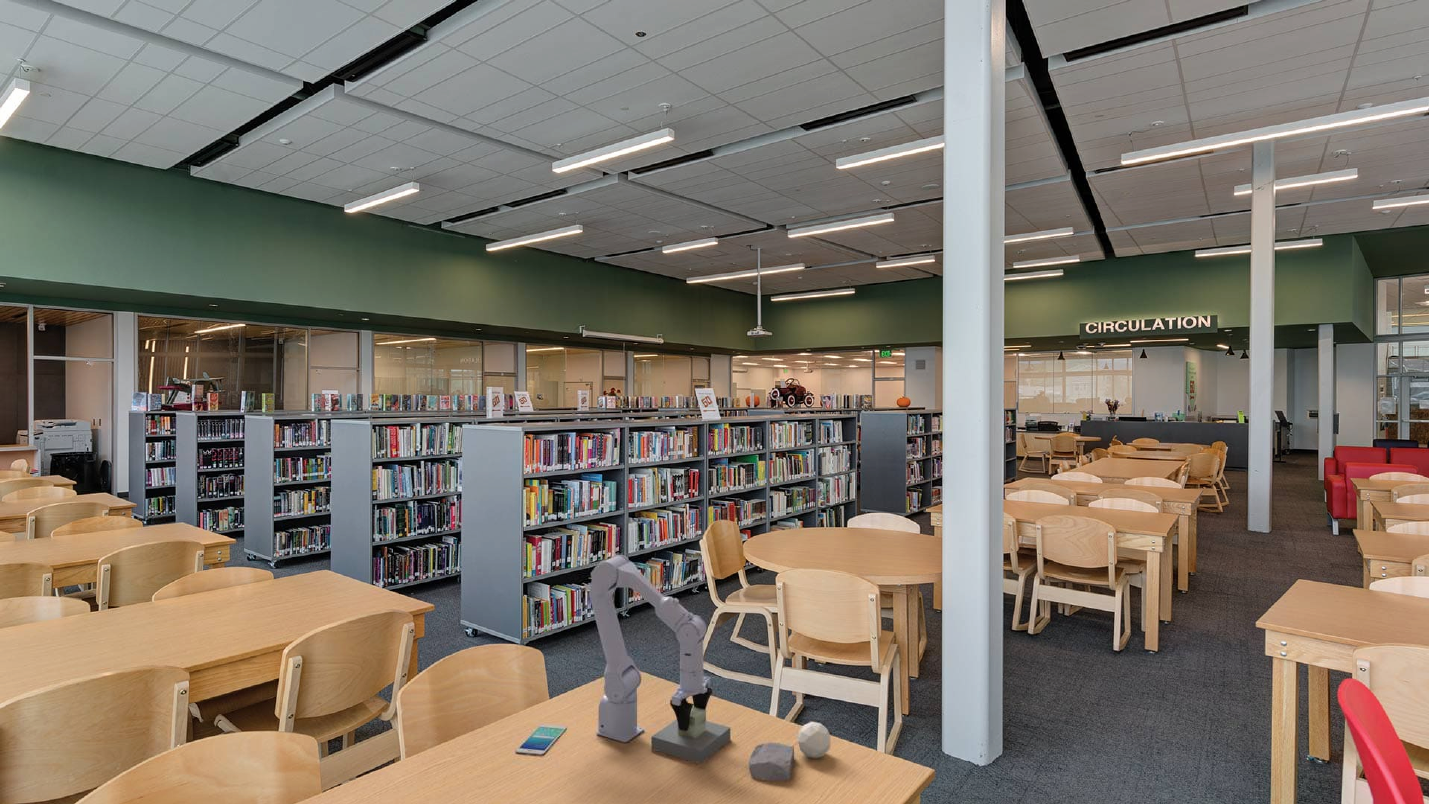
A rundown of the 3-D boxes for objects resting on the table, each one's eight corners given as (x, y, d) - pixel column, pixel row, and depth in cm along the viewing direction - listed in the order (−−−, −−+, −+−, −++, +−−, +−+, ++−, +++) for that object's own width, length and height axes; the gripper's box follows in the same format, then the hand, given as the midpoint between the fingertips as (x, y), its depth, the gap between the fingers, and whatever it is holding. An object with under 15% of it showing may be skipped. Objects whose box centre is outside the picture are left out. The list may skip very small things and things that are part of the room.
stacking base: (651, 749, 170) (651, 736, 170) (683, 726, 182) (683, 714, 182) (700, 764, 163) (700, 751, 163) (730, 739, 175) (730, 727, 175)
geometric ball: (805, 768, 167) (785, 738, 168) (825, 745, 172) (805, 717, 173) (823, 764, 161) (802, 733, 163) (843, 741, 166) (822, 711, 168)
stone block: (749, 787, 157) (793, 783, 155) (744, 765, 157) (789, 760, 155) (755, 763, 168) (797, 758, 167) (752, 742, 169) (793, 737, 167)
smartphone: (567, 726, 181) (543, 754, 167) (567, 729, 181) (543, 757, 167) (540, 723, 183) (514, 751, 168) (540, 727, 183) (514, 754, 168)
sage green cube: (677, 733, 172) (677, 713, 172) (688, 725, 176) (688, 705, 176) (695, 738, 169) (695, 717, 169) (705, 730, 174) (706, 710, 174)
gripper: (689, 681, 165) (689, 740, 164) (720, 662, 177) (720, 716, 177) (664, 675, 168) (664, 732, 168) (696, 657, 181) (696, 710, 181)
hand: (691, 724), depth 173 cm, fingers open, 7 cm apart
